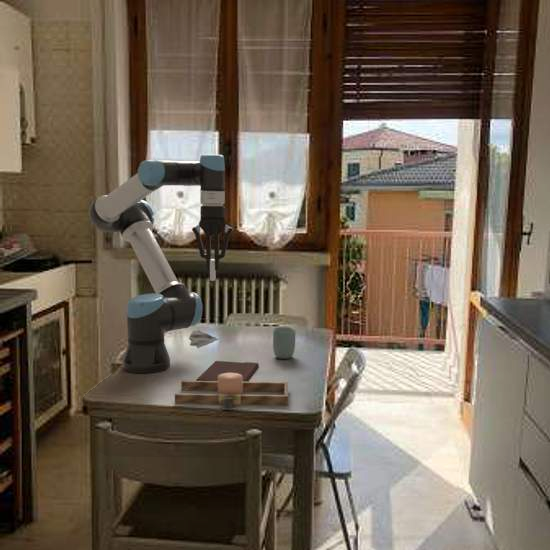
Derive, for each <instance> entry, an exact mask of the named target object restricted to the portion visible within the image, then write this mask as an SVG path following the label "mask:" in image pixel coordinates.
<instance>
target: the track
mask: <svg viewBox="0 0 550 550" xmlns="http://www.w3.org/2000/svg"><path fill="white" fill-rule="evenodd" d="M180 386H181V387H180V389H188V390H187V391H215V390H218V381H196V380H181V383H180ZM242 392H283V393H284V394H242V395H240V394H218V393H174V404H175V403H198V404H197V405H224V408H227V409H230V408H231V409H233V408H234V405H243V406H244V405H245V406H249V405H250V406H255V405H256V406H288V405H289V382H286V381H283V382H282V381H247V382H242Z"/></svg>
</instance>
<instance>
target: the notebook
mask: <svg viewBox="0 0 550 550" xmlns="http://www.w3.org/2000/svg"><path fill="white" fill-rule="evenodd" d="M259 366H260V365H259V363H258V362H251V361H249V362H241V361H240V362H237V361H236V362H235V361H225V360H215V361H214V362H213V363H212V364H211V365H210V366H209V367H208V368H207V369H206V370H205V371H203V372H202V374H201V375H199V376H198V377H197V378H196V380H195V381H218V375H220V374H223V373H238V374H241V375H242V376H243V380H242V382H249V381H250V379H251V377H252V376H253V375H254V374H255V372H256V371H257V370H258V368H259Z"/></svg>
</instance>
